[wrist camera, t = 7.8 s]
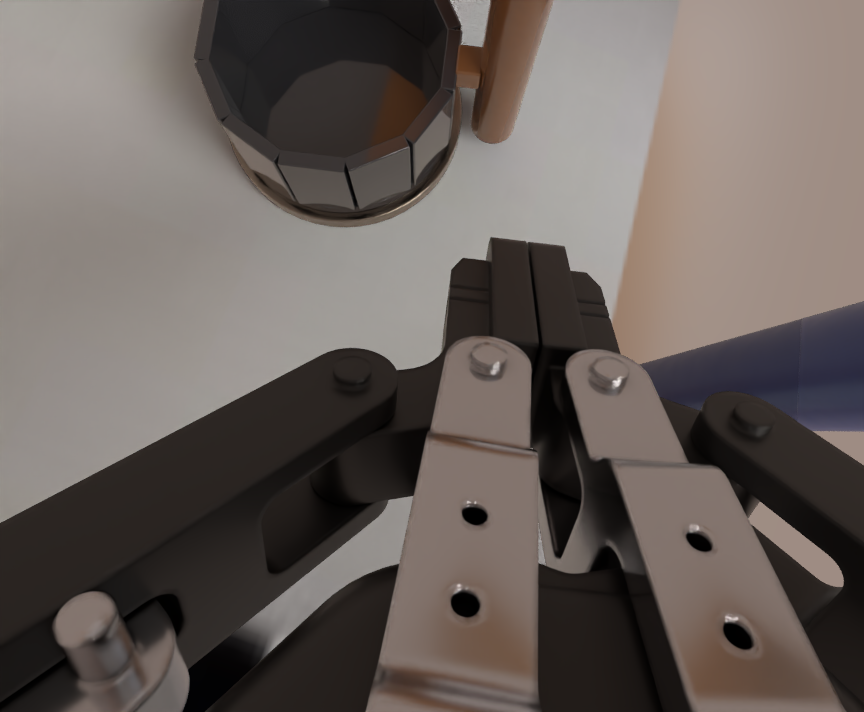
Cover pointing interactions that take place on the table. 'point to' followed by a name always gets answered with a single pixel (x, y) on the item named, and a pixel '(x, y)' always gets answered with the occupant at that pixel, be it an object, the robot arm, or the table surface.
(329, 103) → the wooden handled pot
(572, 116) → the table surface
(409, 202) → the round base
